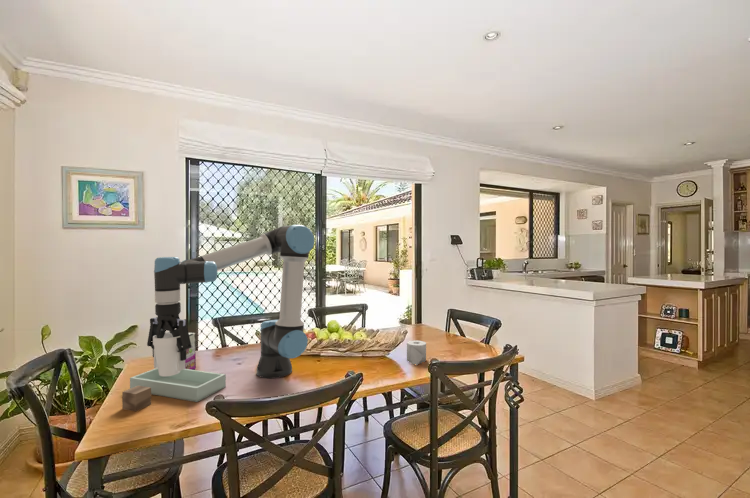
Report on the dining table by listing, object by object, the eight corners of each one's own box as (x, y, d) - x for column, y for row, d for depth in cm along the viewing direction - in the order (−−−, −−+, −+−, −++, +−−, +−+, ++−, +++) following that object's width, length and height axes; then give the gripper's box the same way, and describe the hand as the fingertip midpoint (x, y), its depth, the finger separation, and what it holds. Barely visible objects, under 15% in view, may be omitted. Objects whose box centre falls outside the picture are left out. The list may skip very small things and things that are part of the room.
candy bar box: (186, 367, 171) (186, 332, 171) (196, 368, 170) (196, 332, 170) (168, 376, 160) (168, 338, 160) (178, 377, 159) (178, 338, 159)
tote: (225, 386, 149) (225, 374, 149) (197, 402, 135) (196, 388, 134) (162, 377, 159) (162, 365, 159) (130, 390, 144) (129, 377, 144)
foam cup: (162, 368, 132) (161, 332, 132) (189, 367, 133) (188, 331, 132) (148, 378, 123) (147, 339, 122) (177, 377, 123) (176, 338, 123)
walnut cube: (151, 404, 133) (151, 387, 133) (135, 411, 127) (135, 394, 127) (138, 402, 134) (138, 385, 134) (122, 409, 129) (122, 391, 129)
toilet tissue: (416, 366, 174) (416, 348, 174) (403, 358, 186) (403, 341, 186) (433, 364, 177) (433, 346, 177) (419, 356, 190) (419, 339, 190)
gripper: (202, 302, 127) (204, 367, 128) (152, 299, 134) (154, 361, 135) (185, 306, 120) (186, 375, 121) (133, 303, 127) (135, 368, 127)
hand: (169, 368), depth 128 cm, fingers closed on foam cup, 9 cm apart
